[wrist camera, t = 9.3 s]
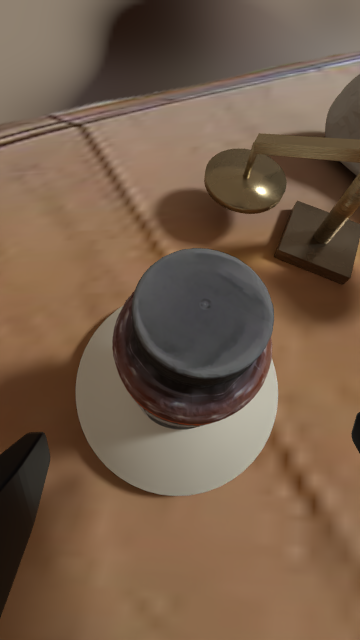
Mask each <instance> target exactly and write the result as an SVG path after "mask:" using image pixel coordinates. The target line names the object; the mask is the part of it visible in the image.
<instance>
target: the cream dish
mask: <svg viewBox="0 0 360 640" xmlns="http://www.w3.org/2000/svg"><path fill="white" fill-rule="evenodd" d="M122 308H123V306H122V307H121V308H119V309H118V310H116V311H115V312H114V313H113V314H111V315H110V316H109V317H108V318H107V319H106V320H105V321H104V322H103V323H102V324H101V325H100V326H99V327H98V329H97V330H96V332H95V333H94V334H93V336H92V337H91V339H90V341H89V342H88V344H87V346H86V348H85V350H84V353H83V355H82V358H81V360H80V364H79V368H78V372H77V379H76V406H77V412H78V417H79V420H80V424H81V427H82V430H83V432H84V434H85V437H86V439H87V441H88V443H89V445H90V446H91V448H92V449H93V451H94V452H95V454H96V455H97V456H98V458H99V459H100V460H101V461H102V462H103V463H104V464H105V466H106V467H107V468H109V469H110V470H111V471H112V472H113V473H114V474H116V475H117V476H118V477H120V478H121V479H123V480H124V481H126V482H128V483H129V484H131V485H133V486H135V487H138V488H140V489H142V490H145V491H148V492H152V493H156V494H160V495H170V496H186V495H194V494H199V493H204V492H207V491H210V490H212V489H215V488H218V487H220V486H222V485H224V484H226V483H227V482H229V481H231V480H233V479H234V478H235V477H237V476H238V475H239V474H240V473H242V472H243V471H244V470H245V469H246V468H247V467H248V466H249V465H250V464H251V463H252V462H253V461H254V460H255V459H256V457H257V456H258V454H259V453H260V452H261V450H262V449H263V447H264V445H265V443H266V441H267V440H268V438H269V435H270V433H271V430H272V427H273V425H274V421H275V416H276V412H277V404H278V383H277V377H276V371H275V367H274V364H273V361H272V359H271V364H270V368H269V371H268V374H267V377H266V379H265V381H264V384H263V386H262V387H261V389H260V390H259V392H258V393H257V394H256V395H255V397H254V398H253V399H252V400H251V401H250V402H249V403H248V404H247V405H246V406H244V407H243V408H242V409H241V410H239V411H238V412H236V413H235V414H233V415H231V416H229V417H227V418H225V419H222V420H220V421H217V422H214V423H211V424H207V425H203V426H200V427H196V428H192V429H186V430H178V429H171V428H167V427H164V426H161V425H159V424H157V423H155V422H154V421H152V420H151V419H150V418H149V417H148V416H147V415H146V414H145V413H144V412H143V411H142V410H141V408H140V407H139V406H138V404H137V403H136V402H135V400H134V399H133V398H132V396H131V395H130V394H129V392H128V391H127V389H126V387H125V386H124V384H123V382H122V380H121V378H120V376H119V374H118V371H117V368H116V364H115V360H114V357H113V349H112V346H113V344H112V340H113V332H114V327H115V324H116V320H117V318H118V315H119V313H120V311H121V309H122Z"/></svg>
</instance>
